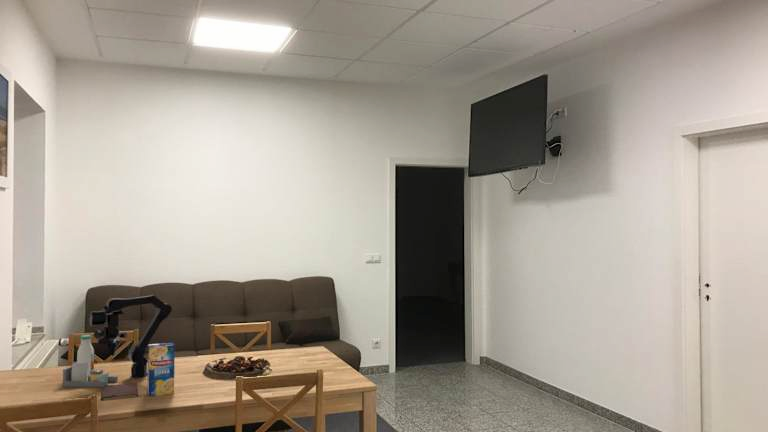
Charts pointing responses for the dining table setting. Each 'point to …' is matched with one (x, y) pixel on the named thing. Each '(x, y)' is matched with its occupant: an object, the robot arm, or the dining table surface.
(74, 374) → the grey angular block
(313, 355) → the dining table surface
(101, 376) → the bar
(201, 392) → the dining table surface
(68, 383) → the lane
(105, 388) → the notebook
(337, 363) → the dining table surface
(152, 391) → the blue yellow food box
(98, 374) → the jar
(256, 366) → the food dish
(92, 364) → the milk bottle
